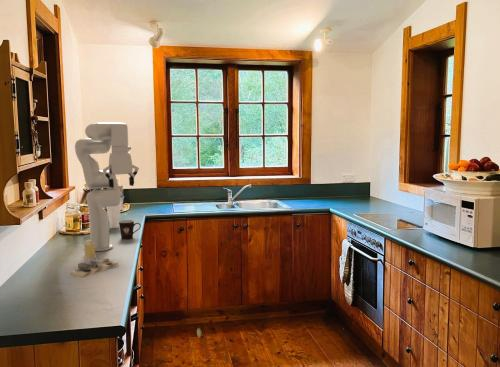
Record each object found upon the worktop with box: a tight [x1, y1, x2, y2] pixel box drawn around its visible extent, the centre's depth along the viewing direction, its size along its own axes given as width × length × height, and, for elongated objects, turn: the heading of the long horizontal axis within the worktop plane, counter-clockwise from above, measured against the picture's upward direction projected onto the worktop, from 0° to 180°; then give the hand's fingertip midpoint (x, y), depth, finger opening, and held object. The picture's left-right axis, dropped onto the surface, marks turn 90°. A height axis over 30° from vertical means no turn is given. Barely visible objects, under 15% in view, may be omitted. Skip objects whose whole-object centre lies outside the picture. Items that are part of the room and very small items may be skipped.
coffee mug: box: [118, 219, 142, 240], centre depth 264 cm, size 12×9×10 cm
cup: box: [105, 198, 123, 229], centre depth 293 cm, size 11×11×18 cm
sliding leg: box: [84, 243, 100, 267], centre depth 204 cm, size 3×7×10 cm, turn 58°
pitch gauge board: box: [69, 258, 119, 278], centre depth 205 cm, size 20×8×4 cm, turn 149°
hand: (121, 186), depth 212 cm, fingers open, 9 cm apart
